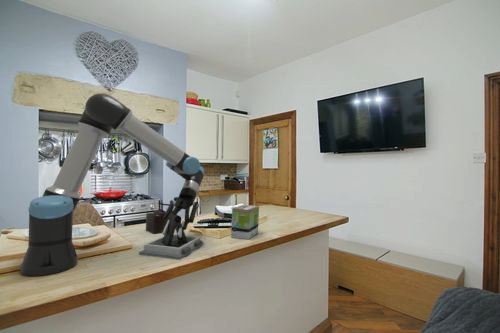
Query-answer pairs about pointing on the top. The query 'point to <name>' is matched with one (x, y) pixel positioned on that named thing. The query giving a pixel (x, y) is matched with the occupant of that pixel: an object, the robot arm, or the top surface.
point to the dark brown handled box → (156, 219)
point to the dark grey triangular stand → (174, 224)
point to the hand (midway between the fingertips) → (171, 235)
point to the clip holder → (171, 248)
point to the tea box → (245, 221)
